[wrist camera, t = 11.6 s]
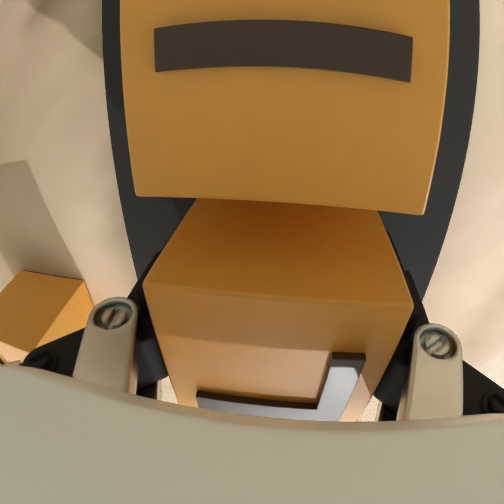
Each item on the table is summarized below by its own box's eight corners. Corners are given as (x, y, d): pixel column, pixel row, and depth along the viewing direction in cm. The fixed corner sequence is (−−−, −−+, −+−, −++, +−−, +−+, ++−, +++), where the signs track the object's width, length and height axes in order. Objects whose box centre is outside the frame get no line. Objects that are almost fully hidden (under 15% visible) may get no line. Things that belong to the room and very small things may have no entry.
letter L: (216, 303, 13) (179, 420, 8) (207, 181, 10) (136, 290, 6) (344, 314, 12) (353, 437, 8) (370, 193, 9) (419, 314, 5)
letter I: (206, 133, 10) (129, 203, 5) (203, -19, 7) (115, -75, 2) (369, 143, 9) (428, 223, 5) (377, -13, 6) (451, -70, 2)
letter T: (50, 330, 18) (12, 390, 14) (21, 269, 15) (-32, 330, 11) (110, 346, 17) (74, 417, 13) (84, 280, 15) (29, 356, 10)
